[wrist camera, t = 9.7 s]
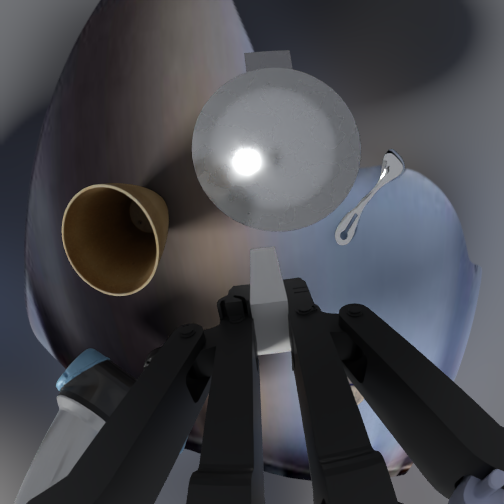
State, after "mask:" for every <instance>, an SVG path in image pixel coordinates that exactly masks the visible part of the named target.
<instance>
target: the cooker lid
mask: <svg viewBox="0 0 504 504" xmlns="http://www.w3.org/2000/svg"><path fill="white" fill-rule="evenodd" d="M244 55H245V63H246V71H247V72H246V73H244V74H242V75H239V76H237V77H235V78H233V79H232V80H230V81H228V82H227V83H225V84H224V85H223V86H222V87H220V88H219V89H218V90H217V91H216V92H215V93H214V94H213V95H212V96H211V97H210V99H209V100H208V101H207V103H206V104H205V105H204V107H203V109H202V111H201V113H200V115H199V116H198V119H197V122H196V125H195V128H194V133H193V138H192V159H193V164H194V169H195V172H196V175H197V178H198V180H199V182H200V184H201V186H202V188H203V190H204V192H205V193H206V194H207V196H208V197H209V199H210V200H211V201H212V202H213V203H214V204H215V205H216V207H218V208H219V209H220V210H221V211H222V212H223V213H225V214H226V215H227V216H229V217H230V218H232V219H233V220H235V221H237V222H239V223H241V224H243V225H246V226H249V227H252V228H255V229H260V230H264V231H275V232H277V231H290V230H297V229H300V228H304V227H307V226H309V225H312V224H314V223H316V222H318V221H320V220H321V219H323V218H325V217H326V216H328V215H329V214H330V213H332V212H333V211H334V210H335V209H336V208H337V207H338V206H339V205H340V204H341V203H342V202H343V200H344V199H345V198H346V197H347V195H348V193H349V192H350V190H351V188H352V187H353V184H354V182H355V180H356V177H357V174H358V170H359V166H360V159H361V143H360V135H359V132H358V128H357V124H356V122H355V120H354V117H353V115H352V113H351V111H350V110H349V108H348V106H347V105H346V104H345V102H344V101H343V100H342V98H341V97H340V96H339V95H338V94H337V93H336V92H335V91H334V90H333V89H332V88H330V87H329V86H328V85H327V84H325V83H324V82H322V81H321V80H319V79H317V78H315V77H314V76H311V75H309V74H306V73H304V72H301V71H297V70H293V69H292V63H291V57H290V51H289V50H288V51H267V52H253V53H244Z"/></svg>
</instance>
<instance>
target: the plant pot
mask: <svg viewBox="0 0 504 504" xmlns="http://www.w3.org/2000/svg"><path fill="white" fill-rule="evenodd" d="M140 222H142V223H141V224H140ZM168 227H169V213H168V208H167V205H166V203H165V201H164V200H163V198H162V197H161V196H160V195H158V194H157V193H155V192H154V191H152V190H150V189H147V188H145V187H141V186H137V185H131V184H122V183H108V184H97V185H92V186H89V187H86V188H84V189H83V190H81V191H80V192H78V193H77V194H76V195H75V196H74V197H73V198H72V200H71V201H70V202H69V204H68V206H67V208H66V210H65V213H64V217H63V222H62V239H63V245H64V249H65V252H66V255H67V257H68V259H69V261H70V263H71V265H72V267H73V268H74V270H75V271H76V272H77V273H78V275H79V276H80V277H81V278H82V279H83V280H84V281H85V282H86V283H88V284H89V285H90V286H92V287H93V288H95V289H97V290H98V291H101V292H103V293H106V294H109V295H115V296H125V295H130V294H133V293H136V292H138V291H139V290H141V289H142V288H144V287H145V286H146V285H147V284H148V283H149V282H150V280H151V279H152V277H153V276H154V274H155V271H156V269H157V266H158V264H159V261H160V259H161V256H162V253H163V250H164V247H165V243H166V239H167V234H168Z"/></svg>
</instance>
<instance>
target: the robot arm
mask: <svg viewBox="0 0 504 504" xmlns="http://www.w3.org/2000/svg"><path fill="white" fill-rule="evenodd" d="M217 307H218V312H219V316H220V324H219V325H218V326H216V327H214V328H211V329H207V330H204V331H203V328H202V327H201V326H200V325H198V324H186V325H182V326H180V327H178V328H177V329H176V330H175V331H174V332H173V333H172V334H171V336H170V337H169V338H168V339H167V341H166V342H165V343H164V345H163V346H162V347H161V348H158V349H155V350H153V351H151V352H150V353H149V354H148V356H147V358H146V361H145V363H144V371H143V373H142V374H141V375H140V377H139V378H138V379H136V378H134V377H133V376H131V375H130V374H129V373H127V372H126V371H124V370H123V369H122V368H120V367H119V366H117V365H116V364H115V363H113V362H112V361H111V360H110V359H109V358H108V357H105V356H104V355H102V354H101V353H99V352H98V351H97V350H95V349H87V350H85V351H84V352H82V353H81V354H80V355H79V356H78V357H77V358H76V359H75V360H74V361H73V362H72V363H71V365H70V366H69V367H68V368H67V369H66V371H65V372H64V373H63V375H62V376H61V377H60V378H59V380H58V381H57V383H56V387H57V388H58V390H59V391H60V394H59V395H58V397H57V402H58V405H59V412H58V414H57V416H56V417H55V419H54V421H53V423H52V424H51V426H50V428H49V430H48V432H47V434H46V436H45V437H44V440H43V441H42V443H41V445H40V447H39V449H38V451H37V453H36V455H35V457H34V459H33V462H32V463H31V466H30V468H29V470H28V472H27V474H26V476H25V479H24V481H23V483H22V485H21V488H20V490H19V492H18V495H17V497H16V500H15V502H14V504H154V503H155V501H156V499H157V497H158V495H159V493H160V491H161V489H162V487H163V485H164V483H165V481H166V479H167V477H168V475H169V473H170V471H171V469H172V467H173V465H174V463H175V461H176V459H177V457H178V455H179V454H180V453H181V452H182V451H183V450H184V447H185V443H186V440H187V438H188V435H189V433H190V431H191V429H192V427H193V425H194V423H195V421H196V419H197V417H198V414H199V412H200V410H201V408H202V406H203V404H204V402H205V400H206V398H207V396H208V394H209V398H208V405H207V412H206V419H205V426H204V434H203V441H202V449H201V456H200V464H199V468H198V470H197V471H195V472H193V473H192V475H191V478H190V482H189V487H188V495H187V503H186V504H265V498H264V475H263V449H262V425H261V400H260V376H259V360H258V355H264V354H273V353H281V352H289V351H291V354H292V371H293V370H294V374H295V380H296V386H297V392H298V398H299V403H300V409H301V415H302V422H303V428H304V434H305V440H306V447H307V453H308V459H309V466H310V473H311V480H312V486H313V498H314V499H313V501H314V504H402V503H400V502H398V501H397V498H396V495H395V491H394V488H393V485H392V482H391V479H390V475H389V472H388V469H387V466H386V463H385V461H384V458H383V456H382V455H381V453H380V452H379V451H375V450H374V449H373V448H372V446H371V444H370V441H369V438H368V435H367V432H366V429H365V426H364V423H363V420H362V417H361V414H360V411H359V409H358V406H357V403H356V400H355V397H354V395H353V392H352V389H351V386H350V384H349V381H348V378H349V380H350V381H351V382H352V383H353V385H354V386H355V387H356V389H357V390H358V391H359V393H360V394H361V395H362V396H363V398H364V399H365V400H366V402H367V403H368V404H369V406H370V407H371V408H372V409H373V411H374V412H375V413H376V415H377V416H378V417H379V418H380V420H381V421H382V422H383V424H384V425H385V426H386V428H387V429H388V430H389V431H390V433H391V434H392V435H393V437H394V438H395V439H396V440H397V442H398V443H399V444H400V446H401V447H402V448H403V450H404V451H405V452H406V453H407V455H408V456H409V457H410V459H411V460H412V461H413V462H414V464H415V465H416V466H417V468H418V469H419V470H420V472H421V473H422V474H423V475H424V477H425V478H426V479H427V481H429V483H430V484H431V485H432V486H433V487H434V488H435V489H436V490H437V491H438V492H439V493H441V494H442V495H443V496H445V497H446V498H448V499H449V503H448V504H504V427H502V426H500V425H499V424H498V423H497V422H496V421H495V420H494V419H493V418H492V417H490V416H489V415H488V414H487V413H486V412H485V411H484V410H483V409H482V408H481V407H480V406H479V405H478V404H477V403H476V402H475V401H474V400H473V399H472V398H470V397H469V396H468V395H467V394H466V393H465V392H464V391H463V390H462V389H461V388H460V387H459V386H457V385H456V384H455V383H454V382H453V381H452V380H451V379H450V378H449V377H448V376H446V375H445V374H444V373H443V372H442V371H441V370H440V369H439V368H438V367H436V366H435V365H434V364H433V363H432V362H431V361H430V360H429V359H427V358H426V357H425V356H424V355H423V354H422V353H421V352H419V351H418V350H417V349H416V348H415V347H414V346H412V345H411V344H410V343H409V342H408V341H407V340H406V339H404V338H403V337H402V336H401V335H400V334H399V333H397V332H396V331H395V330H394V329H393V328H391V327H390V326H389V325H388V324H387V323H386V322H384V321H383V320H382V319H381V318H380V317H378V316H377V315H376V314H375V313H374V312H372V311H371V310H370V309H369V308H368V307H366V306H364V305H361V304H348V305H345V306H343V307H342V308H341V309H340V310H339V314H331V313H325V312H322V311H321V309H320V308H319V306H318V305H316V304H314V302H313V300H312V297H311V295H310V292H309V290H308V287H307V285H306V282H305V281H304V280H302V279H301V278H293V279H285V280H283V279H282V275H281V271H280V267H279V263H278V259H277V255H276V251H275V247H266V248H258V249H250V284H249V285H240V286H233V287H232V288H231V289H230V290H229V293H228V295H227V296H225V297H223V298H221V299H220V300H219V301H218V302H217ZM347 377H348V378H347Z"/></svg>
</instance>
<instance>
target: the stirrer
mask: <svg viewBox="0 0 504 504" xmlns="http://www.w3.org/2000/svg"><path fill="white" fill-rule="evenodd" d="M404 168H405V165H404V162H403V159H402V158H401V156H400V155H399V154H398V153H397V152H396V151H395V150H393V149H390V150H388V151H387V153H386V154H385V156H384V159H383V162H382V169H381V176H380V179H379V181H378V183H377V184H376V186H375V187H374V188H373V189H372V190H371V191H370V192H369V193H368V194H367V195H366V196H365V197H364V198H363V199H362V200H361V201H360V203H359V204H358V205H357V206H356V207H355V208H354V209H353V210H351V211H350V212H348V213H347V214H346V215H345V217H344V218H343V219H342V221H341V222H340V224H339V225H338V227H337V229H336V231H335V240H336V242H337V244H338V245H346V244H348V243H349V242H350V240H351V239H352V237H353V235H354V233H355V230H356V228H357V225H358V223H359V219H360V216H361V214H362V211H363V210H364V208H365V206H366V205H367V204H368V202H369V201H370V199H371V198H372V197H373V195H374V194H375V193H376V192H377V191H378V190H379V189H380V188H381V187H382V186H383V185H385V184H386V183H388V182H390V181H393V180H395V179H397V178H399V177H400V176H401V175H402V174H403V172H404ZM355 213H356V214H357V217H356V218H355V220H354V222H353V223H352V225H351V227H350V228H349V230H348V232H347V238H346V239H344V240H342V239H341V238H340V234H341V232H343V231H344V230H345V229H346V227H347V225H348V224H349V222H350V221H351V219H352V217H353V216H354V214H355Z"/></svg>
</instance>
